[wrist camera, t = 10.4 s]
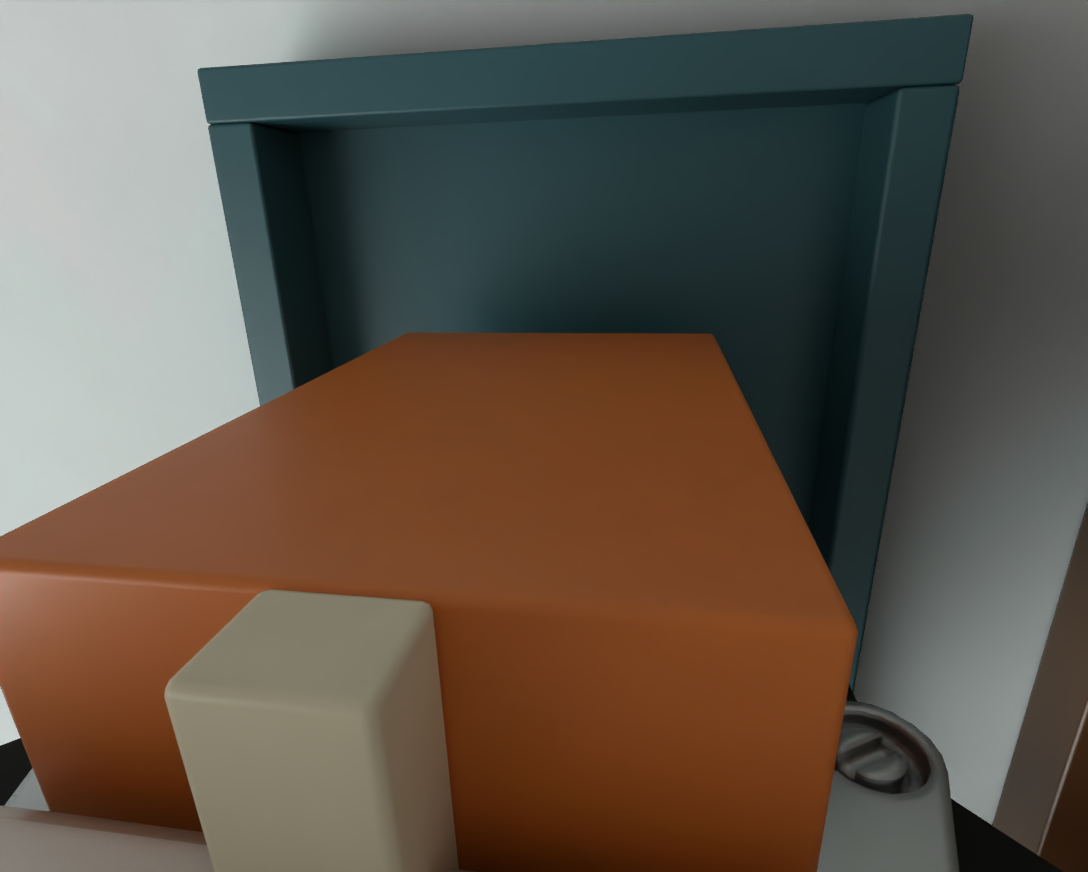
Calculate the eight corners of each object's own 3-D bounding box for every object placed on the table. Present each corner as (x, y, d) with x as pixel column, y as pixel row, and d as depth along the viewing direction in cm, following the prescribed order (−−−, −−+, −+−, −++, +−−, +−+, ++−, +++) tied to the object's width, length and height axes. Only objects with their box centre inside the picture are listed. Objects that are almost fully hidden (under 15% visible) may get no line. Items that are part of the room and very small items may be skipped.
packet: (405, 331, 11) (-235, 644, 3) (714, 332, 10) (934, 769, 2) (444, 715, 14) (165, 1388, 6) (687, 741, 13) (743, 1565, 5)
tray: (270, 91, 12) (195, 67, 10) (912, 50, 10) (976, 12, 8) (374, 763, 17) (339, 834, 15) (797, 814, 16) (818, 900, 14)
